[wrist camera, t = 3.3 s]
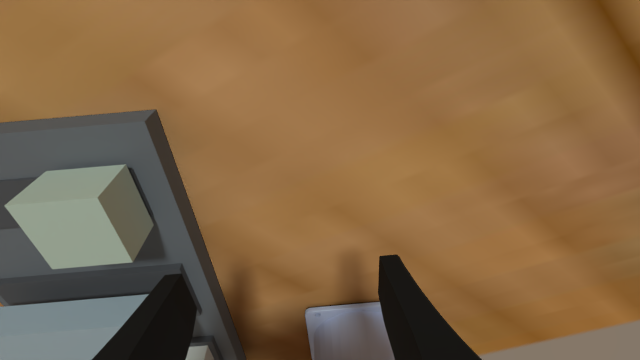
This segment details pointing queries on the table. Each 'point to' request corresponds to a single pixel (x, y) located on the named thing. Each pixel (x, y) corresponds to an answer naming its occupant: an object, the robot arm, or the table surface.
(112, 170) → the sage slider
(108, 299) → the blue button
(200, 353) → the white button
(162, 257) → the control panel
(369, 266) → the table surface
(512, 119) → the table surface
